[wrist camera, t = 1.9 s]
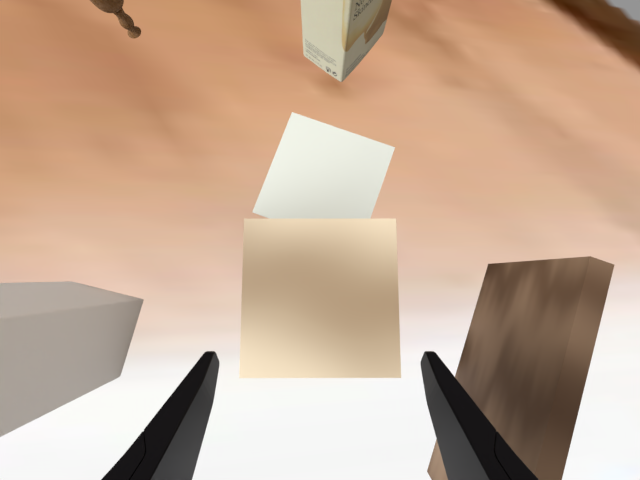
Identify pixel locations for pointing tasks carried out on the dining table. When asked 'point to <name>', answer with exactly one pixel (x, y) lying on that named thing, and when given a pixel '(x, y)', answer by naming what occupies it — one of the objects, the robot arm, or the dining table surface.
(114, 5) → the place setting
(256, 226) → the wooden block
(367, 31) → the skincare box
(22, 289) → the milk
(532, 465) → the screen
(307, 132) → the mat
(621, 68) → the dining table surface
